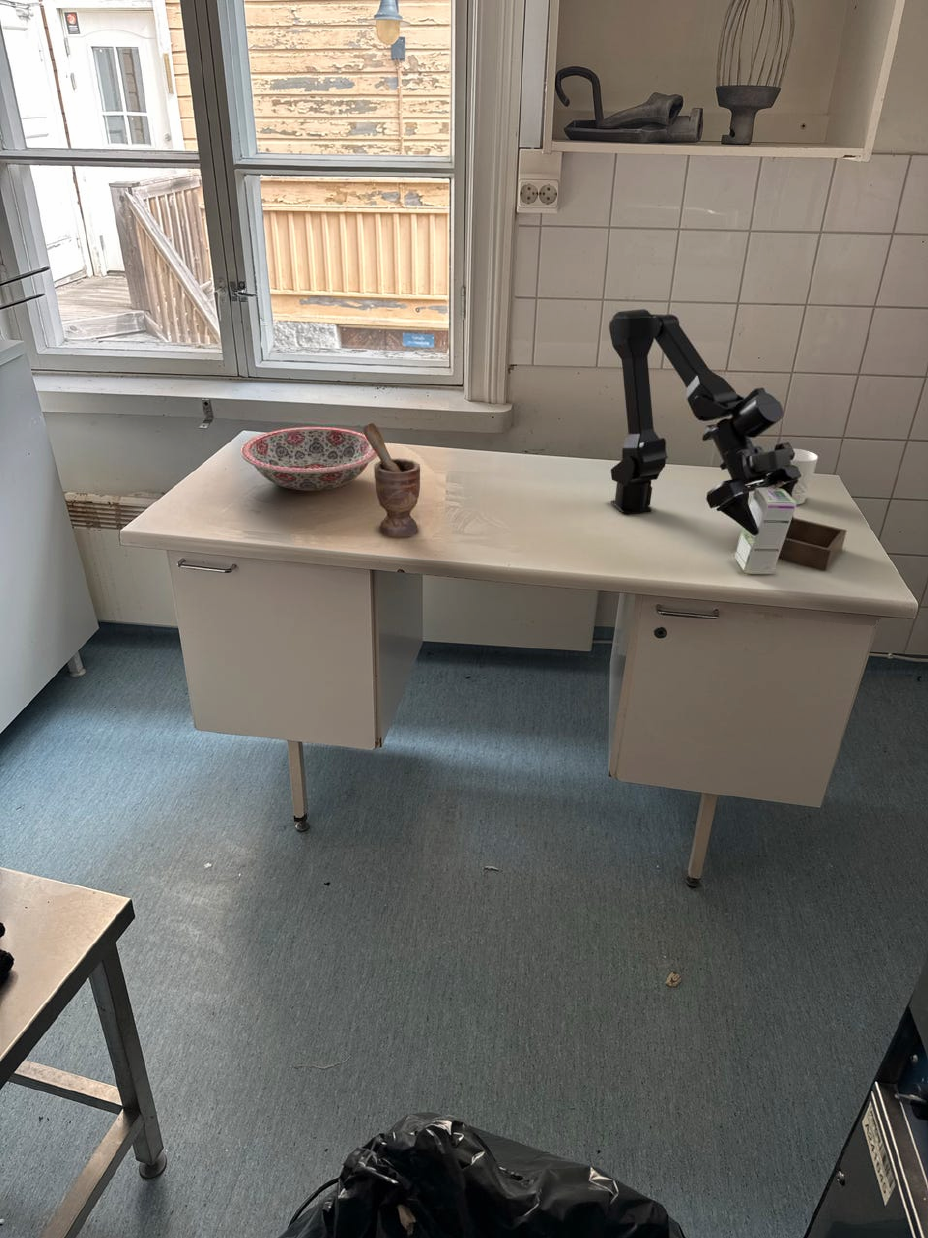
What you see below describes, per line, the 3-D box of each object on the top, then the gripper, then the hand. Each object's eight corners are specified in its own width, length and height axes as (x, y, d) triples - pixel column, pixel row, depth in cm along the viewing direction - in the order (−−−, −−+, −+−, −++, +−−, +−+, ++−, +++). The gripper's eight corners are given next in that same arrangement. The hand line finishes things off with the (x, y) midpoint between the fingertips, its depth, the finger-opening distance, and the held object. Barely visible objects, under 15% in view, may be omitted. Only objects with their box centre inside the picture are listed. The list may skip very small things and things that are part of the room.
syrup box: (773, 575, 162) (799, 502, 154) (743, 574, 161) (767, 501, 153) (760, 558, 167) (785, 487, 159) (731, 557, 166) (754, 486, 158)
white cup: (807, 495, 197) (818, 451, 193) (807, 508, 191) (818, 462, 186) (770, 490, 200) (779, 446, 195) (768, 502, 193) (778, 457, 188)
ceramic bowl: (218, 479, 196) (214, 443, 192) (330, 452, 213) (328, 418, 209) (292, 520, 177) (290, 481, 173) (408, 487, 195) (408, 451, 191)
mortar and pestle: (354, 534, 172) (351, 432, 163) (368, 517, 180) (366, 418, 170) (413, 541, 170) (413, 438, 161) (424, 523, 178) (425, 424, 168)
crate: (741, 548, 172) (745, 529, 170) (761, 529, 180) (765, 510, 178) (825, 570, 164) (830, 550, 162) (841, 549, 173) (846, 530, 171)
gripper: (730, 436, 150) (770, 520, 147) (804, 420, 159) (842, 499, 156) (688, 467, 159) (725, 547, 157) (760, 450, 168) (796, 525, 166)
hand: (774, 529), depth 159 cm, fingers open, 9 cm apart
